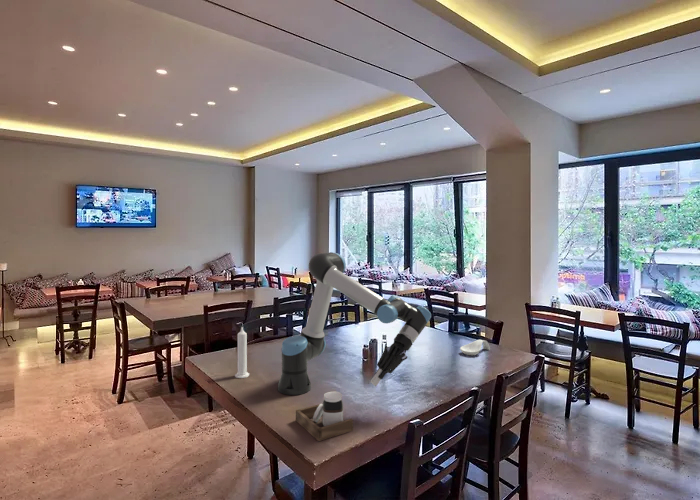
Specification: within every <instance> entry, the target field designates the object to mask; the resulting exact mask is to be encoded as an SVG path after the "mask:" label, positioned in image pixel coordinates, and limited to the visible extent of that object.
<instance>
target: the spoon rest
mask: <svg viewBox="0 0 700 500" xmlns="http://www.w3.org/2000/svg"><path fill="white" fill-rule="evenodd" d="M481 349H484V350H487V351H491V347H490V344H489V343H488V341H487V340H484V339H477V340H474V341H472V342H470V343H467V344H465V345H462V346H460V347H459V350H460V351H461V352H462V353H463V354H464V355H466V356H476V355H478V354H479V353H480V352H481Z"/></svg>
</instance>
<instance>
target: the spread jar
mask: <svg viewBox="0 0 700 500" xmlns="http://www.w3.org/2000/svg"><path fill="white" fill-rule="evenodd" d="M342 398H343V393H341V392H339V391H328V392H325V393H324V394H323V401H322V403H323V404H322V403H319V404H320V405H319V406H318V408H317V409H316V411H315V413H314V416H313V418H312V421H313V422H314V423H318V422H319V420H321V418H322V427H324V426H327V425H331V424H334V423H338V422H341V421H344V403H343V399H342ZM322 413H323V415H322Z"/></svg>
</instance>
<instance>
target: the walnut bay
mask: <svg viewBox="0 0 700 500" xmlns="http://www.w3.org/2000/svg"><path fill="white" fill-rule="evenodd" d="M320 404H323V402H321V403H319V404H314V405H311V406H307V407H304V408H299V409H296V410H295V422H297V423H298V424H299V425H300V426H301V427H302V428H303V429H305V430H306V431H307V432H308V433H309V434H310V435H311V436H312V437H313V438H314V439H316V440H317V441H318V442H321V441H323V440H328V439H330V438H333V437H334V438H335V437H337V436H341V435H343V434H347V433H350V432H353V431H354V419H353V418H348V419H345V420H344V419H343V421H341V422H338V423H334V424H331V425H327V426H324V427H323V426H322V427H320V426H319V424H316V422H314V421H313V416H314V413H315V411H316V409H317V408H318V406H319V405H320ZM322 416H323V413H322Z"/></svg>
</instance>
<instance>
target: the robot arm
mask: <svg viewBox="0 0 700 500" xmlns="http://www.w3.org/2000/svg"><path fill="white" fill-rule="evenodd" d="M346 265H347V264H346V261H345V259H344V257H343V256H342V255H341V254H340V253H336V252H332V251H331V252H320V253H319V252H318V253H317V254H314V255H313V256H312V257H311V258H310V259H309V262H308V271H309V273H310V274H311V276H312V277H313V278H314V279H315V280H316V284H315V288H314V292H313V296H312V300H311V305H310V309H309V313H308V316H307V321H306V324H305V327H303V328H302V329H301V332H300V335H294V336H289V337H286V338H285V339H284V340H283V341H282V343H281V374H280V377H279V381H278V382H277V383H278V384H277V391H278V392H279V393H280V394H283V395H288V396H296V395H303V394H306V393H308V392H309V391H310V390H311V389H312V386H311V380H310V379H311V378H310V376H309V374H308V362H309V361H312V360H314V359H315V358H318V357H319V356H320V355H321V354H323V352H324V351H325V349H326V347H327V346H326V345H327V342H326V341H327V340H325V334H326V333H325V332H324V329H325V328H324V327H325V324H326V319H327V315H328V311H329V309H330V308H329V307H330V304H331V300H332V295H333V292H334V289H335V290H337V291H339V292H340V293H342V294H343V295H345V296H346V297H348V298H350V299H351V300H353V301H354V302H355V303H357V304H359V305H360V306H362V307H363V308H365V309H366V310H368V311H370V312H371V313H373V314H374V315H376V316H377V319H378V321H379V322H381V323H383V324H390V323H393V322H395V321H397V320H398V319H399V320H401V321H402V322H404V324H403V326H402V327H401V328H400V330H399V331H398V332H399V333H397V334H396V336H395V337H394V338H393V343H392V344H390V346H388V345H385V346H384V349H383V352H382V354H381V356H380V358H379V360H378V361H377V363H376V366H377V368H378V369H377V370H376V372H375V373H374V375H373V377H372V379H371V380H370V381H369V382H370V383H371V384H372V386H374V387H378V386H377V385H378V384H379V383H380V382H381V380H383V378H384V377H385V376H386V375H387V374H392V373H393V372H394V371H395V370H396V369H397V368H398V367H399V366H400V365H401V364H402V363H403V362H404V361H405V360H407V359H408V356H407V354H406V352H408V351H410V349H411V347H412V346H413V343H415V342H416V340H417V338H419V336H420V334H422V332H423V330H424V329H425V328H426V326H427V324H428V323H429V321H430V320H431V318H432V313H431V311H429V309H428V308H426V307H424V306H422V305H418V306H417V307H415V306H412V305H411V304H409V303H408V302H406V301H405V300H403V299H402V298H401V297H399V296H397V295H395V294H392V295H390V297H388V299H385V298H384V297H382V296H381V295H379V294H377V293H376V292H374V291H373V290H371V289H369V288H368V287H367V286H365V285H364V284H361V283H360V282H358V281H357V280H355V279H353V278H352V277H350V276H348V275H347V274H345V270H346V267H347V266H346Z"/></svg>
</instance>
